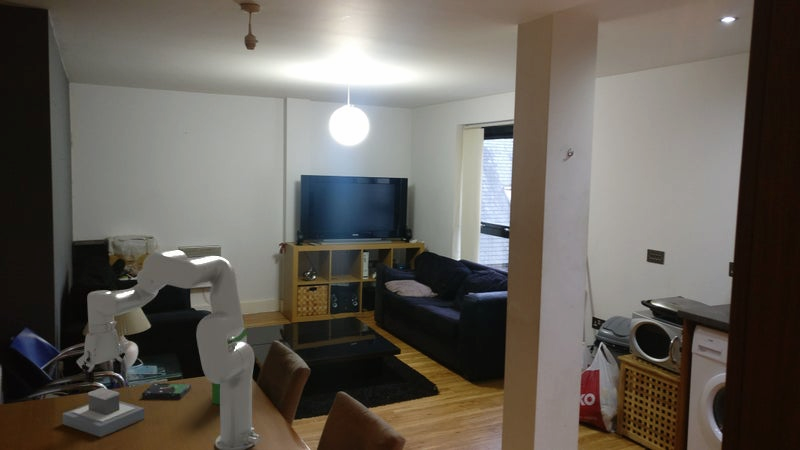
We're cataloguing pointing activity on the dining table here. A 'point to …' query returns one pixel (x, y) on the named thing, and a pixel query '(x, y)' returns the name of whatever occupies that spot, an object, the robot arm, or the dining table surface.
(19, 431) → the dining table surface
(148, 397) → the disk drive
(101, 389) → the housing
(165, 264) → the robot arm
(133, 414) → the stand
